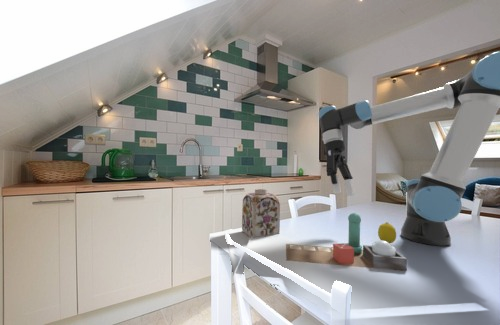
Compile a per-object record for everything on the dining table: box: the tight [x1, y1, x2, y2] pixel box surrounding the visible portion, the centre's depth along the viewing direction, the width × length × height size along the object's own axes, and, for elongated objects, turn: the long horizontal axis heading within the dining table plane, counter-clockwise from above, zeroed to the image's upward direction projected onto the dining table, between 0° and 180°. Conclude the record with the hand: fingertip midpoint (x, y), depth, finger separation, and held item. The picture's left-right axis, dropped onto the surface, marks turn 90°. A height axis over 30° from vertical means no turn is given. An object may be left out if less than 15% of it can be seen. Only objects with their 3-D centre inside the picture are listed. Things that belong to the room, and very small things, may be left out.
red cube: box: [332, 242, 354, 264], centre depth 62 cm, size 4×4×4 cm
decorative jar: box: [241, 188, 281, 239], centre depth 87 cm, size 12×12×18 cm
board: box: [285, 243, 408, 272], centre depth 65 cm, size 31×13×4 cm, turn 81°
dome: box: [371, 240, 396, 257], centre depth 61 cm, size 6×6×5 cm
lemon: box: [377, 221, 397, 244], centre depth 78 cm, size 6×6×8 cm
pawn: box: [346, 212, 363, 255], centre depth 68 cm, size 4×4×12 cm
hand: (344, 194), depth 82 cm, fingers open, 13 cm apart
